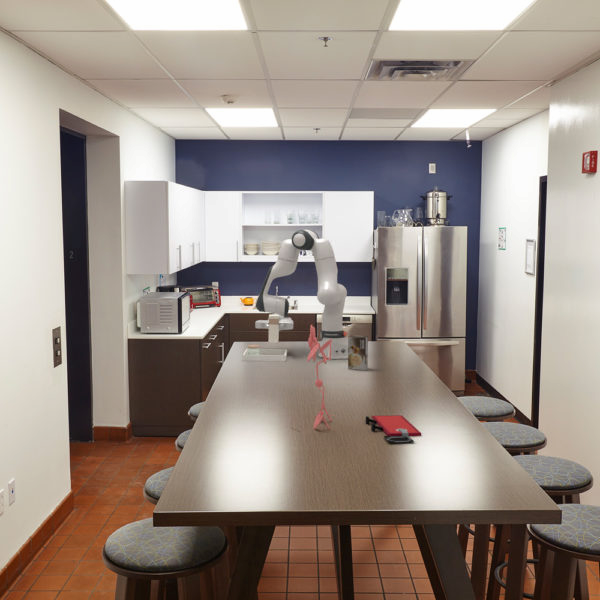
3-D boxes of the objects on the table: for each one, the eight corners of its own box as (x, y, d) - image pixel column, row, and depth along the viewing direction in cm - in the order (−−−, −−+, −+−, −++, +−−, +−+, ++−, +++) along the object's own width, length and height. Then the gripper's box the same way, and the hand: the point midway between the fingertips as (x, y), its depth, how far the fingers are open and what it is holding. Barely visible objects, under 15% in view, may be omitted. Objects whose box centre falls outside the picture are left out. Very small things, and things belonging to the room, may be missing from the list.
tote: (287, 356, 353) (287, 349, 353) (285, 363, 335) (285, 355, 335) (246, 356, 353) (246, 348, 353) (242, 362, 335) (242, 355, 335)
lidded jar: (260, 357, 345) (260, 344, 345) (259, 359, 339) (259, 346, 338) (248, 357, 345) (248, 344, 345) (246, 359, 339) (246, 346, 338)
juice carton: (278, 341, 347) (279, 314, 345) (278, 342, 342) (278, 316, 340) (269, 340, 347) (269, 314, 345) (268, 342, 342) (268, 315, 340)
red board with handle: (382, 445, 208) (428, 444, 210) (383, 436, 208) (428, 435, 210) (361, 419, 238) (401, 419, 240) (361, 412, 237) (401, 411, 239)
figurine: (335, 414, 241) (334, 320, 238) (329, 436, 216) (328, 331, 212) (294, 413, 243) (292, 320, 240) (283, 435, 218) (281, 330, 214)
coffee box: (368, 367, 325) (368, 335, 324) (365, 370, 319) (366, 337, 317) (350, 366, 328) (350, 334, 326) (347, 369, 322) (347, 336, 320)
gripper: (256, 316, 356) (253, 320, 342) (293, 317, 356) (293, 321, 342) (256, 328, 357) (253, 332, 343) (293, 329, 356) (292, 333, 343)
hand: (273, 326), depth 343 cm, fingers closed on juice carton, 5 cm apart
